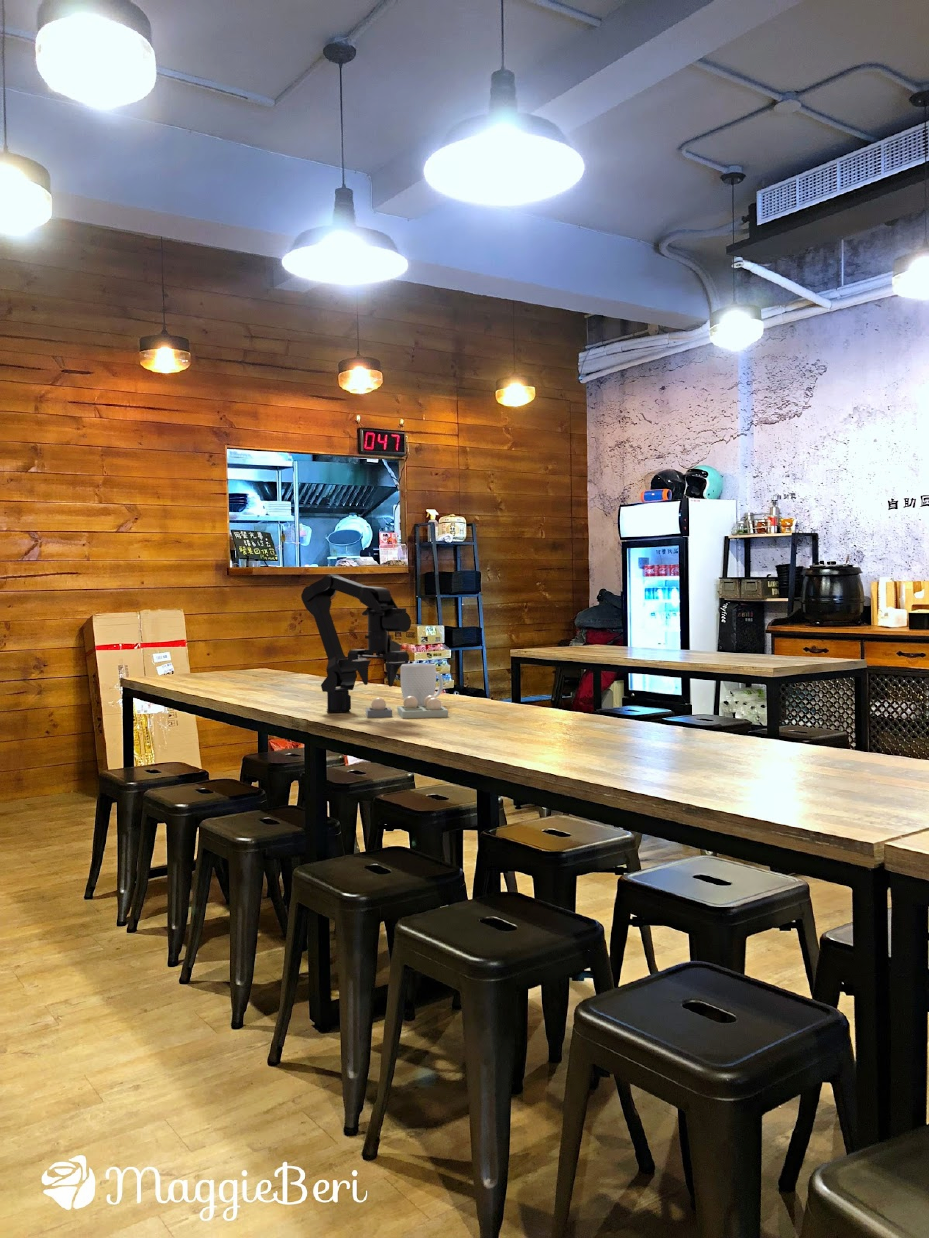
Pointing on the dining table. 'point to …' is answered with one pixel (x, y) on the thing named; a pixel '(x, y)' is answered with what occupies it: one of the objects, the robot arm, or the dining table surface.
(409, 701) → the carton
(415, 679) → the mug
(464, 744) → the dining table surface
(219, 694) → the dining table surface
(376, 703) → the egg
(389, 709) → the dish
